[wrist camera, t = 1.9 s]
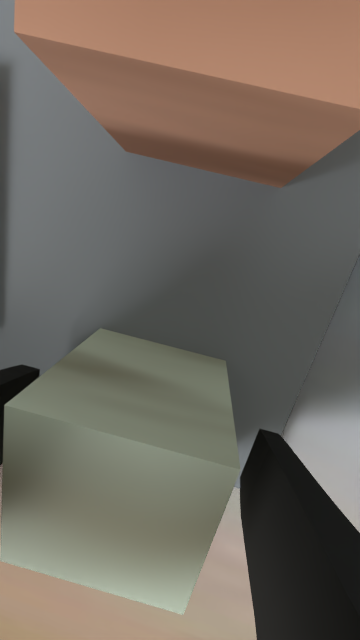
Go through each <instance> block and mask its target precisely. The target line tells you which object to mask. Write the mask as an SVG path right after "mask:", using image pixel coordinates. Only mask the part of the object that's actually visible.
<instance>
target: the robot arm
mask: <svg viewBox="0 0 360 640" xmlns="http://www.w3.org/2000/svg"><path fill="white" fill-rule="evenodd" d="M39 375H40V369H37V368H34V367H30V366H26V365H23V364H21V365H17V366H13V367H9V368H5V369H2V370H0V465H1V464H2V463H3V436H4V405H5V404H6V403H8V402H9V401H10V400H11V399H13V398H14V397H15V396H16V395H18V394H19V393H20V392H21V391H23V390H24V389H25V388H26V387H27V386H29V385H30V384H31V383H32V382H34V381H35V380H36V379H37V378H39ZM240 506H241V520H242V528H243V535H244V543H245V550H246V557H247V565H248V572H249V579H250V587H251V594H252V601H253V608H254V616H255V625H256V634H257V640H360V533H359V532H358V531H357V529H356V528H355V527H354V526H353V525H352V524H351V522H350V521H349V520H348V519H347V518H346V517H345V515H344V514H343V513H342V512H341V511H340V509H339V508H338V507H337V506H336V505H335V503H334V502H333V501H332V500H331V498H330V497H329V496H328V495H327V494H326V492H325V491H324V490H323V489H322V487H321V486H320V485H319V484H318V482H317V481H316V480H315V478H314V477H313V476H312V475H311V473H310V472H309V471H308V470H307V468H306V467H305V466H304V464H303V463H302V462H301V461H300V459H299V458H298V457H297V455H296V454H295V453H294V452H293V450H292V449H291V448H290V447H289V445H288V444H287V443H286V442H285V440H284V439H283V438H282V437H281V436H280V434H278V433H274V432H271V431H267V430H263V429H260V428H259V431H258V433H257V436H256V438H255V441H254V443H253V446H252V448H251V451H250V453H249V456H248V458H247V461H246V463H245V466H244V468H243V471H242V473H241V476H240Z"/></svg>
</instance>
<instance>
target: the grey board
mask: <svg viewBox="0 0 360 640" xmlns="http://www.w3.org/2000/svg"><path fill="white" fill-rule="evenodd" d="M14 12H15V0H0V370H2V369H5V368H9V367H13V366H17V365H21V364H23V365H26V366H30V367H34V368H37V369H40V375H39V377H40V376H41V375H42V374H44V373H45V372H46V371H47V370H49V369H50V368H51V367H52V366H54V365H55V364H56V363H57V362H59V361H60V360H61V359H62V358H64V357H65V356H66V355H67V354H69V353H70V352H71V351H72V350H74V349H75V348H76V347H77V346H79V345H80V344H81V343H82V342H84V341H85V340H86V339H87V338H89V337H90V336H91V335H92V334H94V333H95V332H96V331H97V330H99V329H100V328H102V329H105V330H109V331H113V332H117V333H121V334H125V335H129V336H132V337H136V338H140V339H144V340H148V341H152V342H156V343H159V344H163V345H167V346H171V347H175V348H179V349H182V350H186V351H190V352H194V353H198V354H202V355H206V356H209V357H213V358H217V359H221V360H225V361H226V367H227V374H228V381H229V389H230V396H231V403H232V411H233V418H234V425H235V432H236V440H237V447H238V454H239V462H240V469H241V470H240V472H239V475H238V478H237V480H236V483H235V485H234V487H237V488H240V476H241V473H242V471H243V468H244V466H245V463H246V461H247V458H248V456H249V453H250V451H251V448H252V446H253V443H254V441H255V438H256V436H257V433H258V431H259V428H260V429H263V430H267V431H271V432H274V433H278V434H280V436H281V434H282V432H283V429H284V427H285V425H286V422H287V420H288V418H289V416H290V413H291V411H292V409H293V406H294V404H295V402H296V399H297V397H298V395H299V393H300V390H301V388H302V386H303V383H304V381H305V379H306V376H307V374H308V372H309V370H310V367H311V365H312V363H313V360H314V358H315V356H316V354H317V351H318V349H319V347H320V344H321V342H322V340H323V337H324V335H325V333H326V331H327V328H328V326H329V324H330V321H331V319H332V317H333V314H334V312H335V310H336V308H337V305H338V303H339V301H340V298H341V296H342V294H343V292H344V289H345V287H346V285H347V282H348V280H349V278H350V275H351V273H352V271H353V269H354V266H355V264H356V262H357V259H358V257H359V255H360V130H359V131H358V132H356V133H355V134H354V135H352V136H351V137H350V138H348V139H347V140H345V141H344V142H343V143H341V144H340V145H339V146H337V147H336V148H335V149H333V150H332V151H330V152H329V153H328V154H326V155H325V156H324V157H322V158H321V159H320V160H318V161H317V162H316V163H314V164H313V165H311V166H310V167H309V168H307V169H306V170H305V171H303V172H302V173H301V174H299V175H298V176H297V177H295V178H294V179H292V180H291V181H290V182H288V183H287V184H286V185H284V186H283V187H282V188H278V187H274V186H270V185H265V184H261V183H257V182H253V181H248V180H244V179H240V178H236V177H231V176H227V175H223V174H219V173H214V172H210V171H206V170H202V169H198V168H193V167H189V166H185V165H181V164H176V163H172V162H168V161H164V160H159V159H155V158H151V157H147V156H142V155H138V154H134V153H130V152H126V151H125V150H124V149H123V148H122V147H121V146H120V145H119V144H118V143H117V142H116V140H115V139H114V138H113V137H112V136H111V135H110V134H109V133H108V132H107V131H106V130H105V129H104V128H103V127H102V125H101V124H100V123H99V122H98V121H97V120H96V119H95V118H94V117H93V116H92V115H91V114H90V113H89V112H88V111H87V109H86V108H85V107H84V106H83V105H82V104H81V103H80V102H79V101H78V100H77V99H76V98H75V97H74V96H73V94H72V93H71V92H70V91H69V90H68V89H67V88H66V87H65V86H64V85H63V84H62V83H61V82H60V81H59V80H58V78H57V77H56V76H55V75H54V74H53V73H52V72H51V71H50V70H49V69H48V68H47V67H46V66H45V65H44V63H43V62H42V61H41V60H40V59H39V58H38V57H37V56H36V55H35V54H34V53H33V52H32V51H31V50H30V49H29V47H28V46H27V45H26V44H25V43H24V42H23V41H22V40H21V39H20V38H19V37H18V36H17V35H16V34H15V32H14Z"/></svg>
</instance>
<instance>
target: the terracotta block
mask: <svg viewBox="0 0 360 640" xmlns="http://www.w3.org/2000/svg"><path fill="white" fill-rule="evenodd" d="M14 32H15V34H16V35H17V36H18V37H19V38H20V39H21V40H22V41H23V42H24V43H25V44H26V45H27V46H28V47H29V49H30V50H31V51H32V52H33V53H34V54H35V55H36V56H37V57H38V58H39V59H40V60H41V61H42V62H43V63H44V65H45V66H46V67H47V68H48V69H49V70H50V71H51V72H52V73H53V74H54V75H55V76H56V77H57V78H58V80H59V81H60V82H61V83H62V84H63V85H64V86H65V87H66V88H67V89H68V90H69V91H70V92H71V93H72V94H73V96H74V97H75V98H76V99H77V100H78V101H79V102H80V103H81V104H82V105H83V106H84V107H85V108H86V109H87V111H88V112H89V113H90V114H91V115H92V116H93V117H94V118H95V119H96V120H97V121H98V122H99V123H100V124H101V125H102V127H103V128H104V129H105V130H106V131H107V132H108V133H109V134H110V135H111V136H112V137H113V138H114V139H115V140H116V142H117V143H118V144H119V145H120V146H121V147H122V148H123V149H124V150H125V151H126V152H130V153H134V154H138V155H142V156H147V157H151V158H155V159H159V160H164V161H168V162H172V163H176V164H181V165H185V166H189V167H193V168H198V169H202V170H206V171H210V172H214V173H219V174H223V175H227V176H231V177H236V178H240V179H244V180H248V181H253V182H257V183H261V184H265V185H270V186H274V187H278V188H282V187H283V186H284V185H286V184H287V183H288V182H290V181H291V180H292V179H294V178H295V177H297V176H298V175H299V174H301V173H302V172H303V171H305V170H306V169H307V168H309V167H310V166H311V165H313V164H314V163H316V162H317V161H318V160H320V159H321V158H322V157H324V156H325V155H326V154H328V153H329V152H330V151H332V150H333V149H335V148H336V147H337V146H339V145H340V144H341V143H343V142H344V141H345V140H347V139H348V138H350V137H351V136H352V135H354V134H355V133H356V132H358V131H359V130H360V0H15V12H14Z"/></svg>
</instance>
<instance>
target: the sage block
mask: <svg viewBox="0 0 360 640" xmlns="http://www.w3.org/2000/svg"><path fill="white" fill-rule="evenodd" d="M240 470H241V469H240V462H239V454H238V447H237V440H236V432H235V425H234V418H233V411H232V403H231V396H230V389H229V381H228V374H227V367H226V361H225V360H221V359H217V358H213V357H209V356H206V355H202V354H198V353H194V352H190V351H186V350H182V349H179V348H175V347H171V346H167V345H163V344H159V343H156V342H152V341H148V340H144V339H140V338H136V337H132V336H129V335H125V334H121V333H117V332H113V331H109V330H105V329H102V328H100V329H99V330H97V331H96V332H95V333H94V334H92V335H91V336H90V337H89V338H87V339H86V340H85V341H84V342H82V343H81V344H80V345H79V346H77V347H76V348H75V349H74V350H72V351H71V352H70V353H69V354H67V355H66V356H65V357H64V358H62V359H61V360H60V361H59V362H57V363H56V364H55V365H54V366H52V367H51V368H50V369H49V370H47V371H46V372H45V373H44V374H42V375H41V376H40V377H39V378H37V379H36V380H35V381H34V382H32V383H31V384H30V385H29V386H27V387H26V388H25V389H24V390H23V391H21V392H20V393H19V394H18V395H16V396H15V397H14V398H13V399H11V400H10V401H9V402H8V403H6V404H5V405H4V436H3V475H2V514H1V552H0V561H2V562H6V563H9V564H12V565H16V566H19V567H23V568H26V569H29V570H33V571H36V572H39V573H43V574H46V575H50V576H53V577H56V578H60V579H63V580H67V581H70V582H73V583H77V584H80V585H84V586H87V587H90V588H94V589H97V590H101V591H104V592H107V593H111V594H114V595H118V596H121V597H124V598H128V599H131V600H134V601H138V602H141V603H145V604H148V605H151V606H155V607H158V608H162V609H165V610H168V611H172V612H175V613H179V614H182V615H183V614H184V611H185V609H186V606H187V604H188V601H189V599H190V596H191V594H192V591H193V589H194V586H195V584H196V581H197V579H198V576H199V573H200V571H201V568H202V566H203V563H204V561H205V558H206V556H207V553H208V551H209V548H210V546H211V543H212V541H213V538H214V536H215V533H216V531H217V528H218V526H219V523H220V520H221V518H222V515H223V513H224V510H225V508H226V505H227V503H228V500H229V498H230V495H231V493H232V490H233V488H234V485H235V483H236V480H237V478H238V475H239V472H240Z"/></svg>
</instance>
